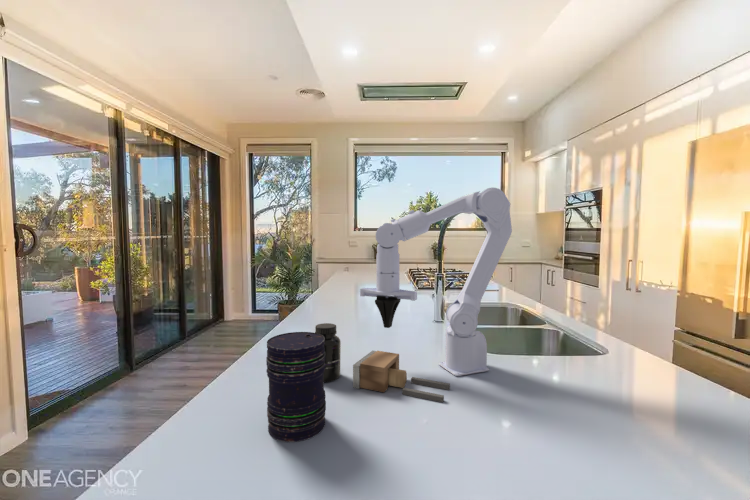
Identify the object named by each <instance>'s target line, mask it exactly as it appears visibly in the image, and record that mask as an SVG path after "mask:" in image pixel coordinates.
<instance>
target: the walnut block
mask: <svg viewBox="0 0 750 500" xmlns="http://www.w3.org/2000/svg"><path fill="white" fill-rule="evenodd" d="M375 351H376V352H375V353H374V354H372V355H371V356H370V357H368V358H367V359H366V360H364V361H363V362H362V363H361V364H360V389H365V390H369V391H376V392H380V393H385V392H386V391H387V390H388V387H389V385H388V368H393V369H399V370H400V354H399V353H394V352H389V351H383V350H382V351H381V350H375Z"/></svg>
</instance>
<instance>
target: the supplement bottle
mask: <svg viewBox="0 0 750 500" xmlns="http://www.w3.org/2000/svg"><path fill="white" fill-rule="evenodd" d="M314 328H315V329H314V333H318V334H321V335H323V336H324V338H325V344H324V346H325V365H326V367H325V371H324V383H330V382H333V381H336V380H338V379H339V378H340V376H341V348H342V347H341V346H342V345H341V344H342V343H341V342H342V341H341V339H340V337H339V336H338V335H336V334H337V325H336V324H335V323H326V322H324V323H318V324H316V325H315V327H314Z"/></svg>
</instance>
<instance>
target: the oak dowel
mask: <svg viewBox="0 0 750 500" xmlns="http://www.w3.org/2000/svg"><path fill="white" fill-rule="evenodd" d="M407 376H408V373H407V370H404V369H400V368H399V369H393V368H388V387H395V388H400V389H403V388H405V386H406V384H407V378H408V377H407Z"/></svg>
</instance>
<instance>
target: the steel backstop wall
mask: <svg viewBox="0 0 750 500" xmlns="http://www.w3.org/2000/svg"><path fill="white" fill-rule="evenodd" d="M376 351H377V350H371V351H370V352H368V353H367V354H366V355H364V356H363V357H362V358H360V359H358V360H357V361H356V362H355V363H353V365H352V388H353V389H355V390H360V389H361V388H360V364H361V363H362V362H363V361H364V360H366V359H367V358H368V357H370V356H371V355H372V354H374V353H375V352H376Z"/></svg>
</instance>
